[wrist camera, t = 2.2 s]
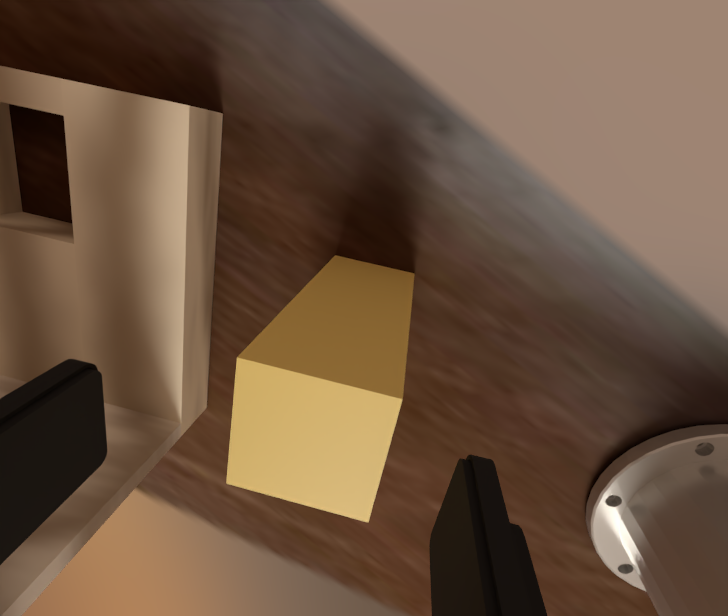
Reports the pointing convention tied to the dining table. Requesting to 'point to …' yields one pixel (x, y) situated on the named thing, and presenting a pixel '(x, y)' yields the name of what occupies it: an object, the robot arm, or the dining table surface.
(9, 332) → the green-topped stand
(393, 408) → the peg
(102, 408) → the robot arm
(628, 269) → the dining table surface
